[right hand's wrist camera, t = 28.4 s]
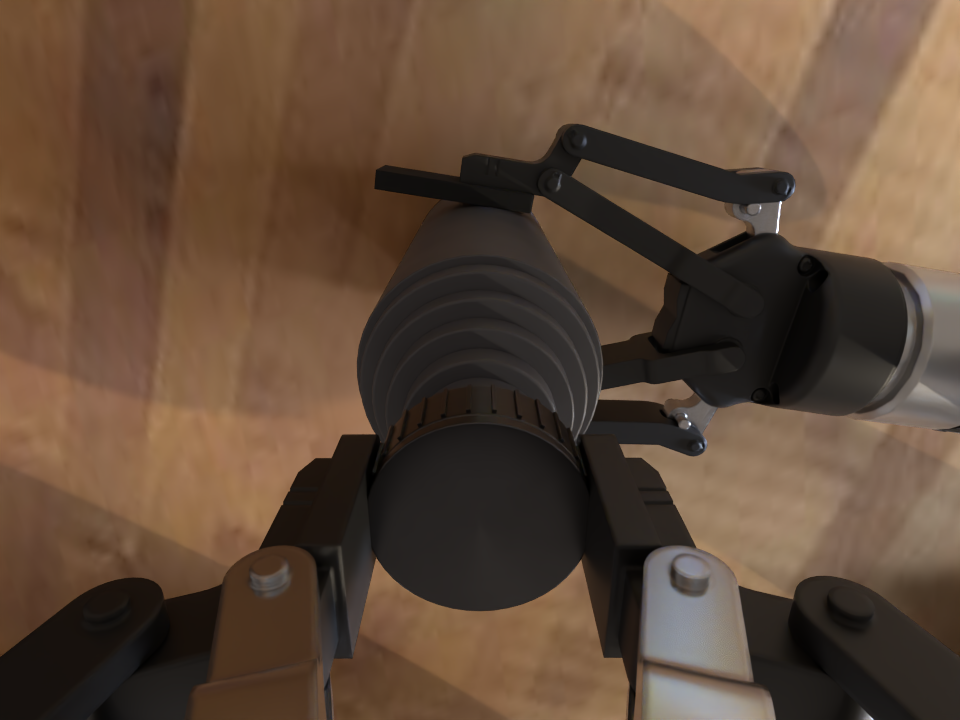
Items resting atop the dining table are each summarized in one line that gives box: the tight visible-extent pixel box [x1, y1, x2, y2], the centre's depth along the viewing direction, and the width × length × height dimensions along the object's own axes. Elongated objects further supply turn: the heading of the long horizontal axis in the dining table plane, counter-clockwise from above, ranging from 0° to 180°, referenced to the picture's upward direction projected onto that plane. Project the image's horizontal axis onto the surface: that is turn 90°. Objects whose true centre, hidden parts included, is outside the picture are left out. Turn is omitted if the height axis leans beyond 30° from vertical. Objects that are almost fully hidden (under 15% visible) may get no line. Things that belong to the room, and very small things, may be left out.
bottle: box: [357, 200, 603, 444], centre depth 23 cm, size 7×7×24 cm
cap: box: [367, 384, 590, 611], centre depth 12 cm, size 4×4×2 cm
